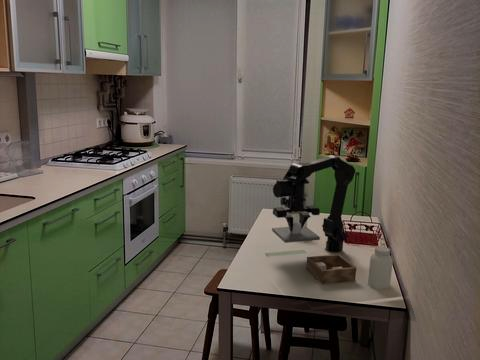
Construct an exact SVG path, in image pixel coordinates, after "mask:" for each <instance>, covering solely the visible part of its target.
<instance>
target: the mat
mask: <svg viewBox="0 0 480 360" xmlns="http://www.w3.org/2000/svg"><path fill="white" fill-rule="evenodd" d="M264 254H265V255H266V256H267V257H268V258H269V257H278V256H291V255H302V254H308V252H307V251H306V250H305V249H299V250H298V249H297V250H285V251H274V252H273V251H272V252H271V251H270V252H265V253H264Z"/></svg>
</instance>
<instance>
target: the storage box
mask: <svg viewBox="0 0 480 360" xmlns="http://www.w3.org/2000/svg"><path fill="white" fill-rule="evenodd" d="M317 262H323V263H324V264H325V265H326V270H323V269H321V268H320V267H319V266H318V265H317V264H316V263H317ZM332 267H342V268H340V269H332ZM305 269H306V271H307V272H308V273H309V274H310V275H311V276H312V277H313V278H314V279H315V280H316V281H318V283H319V284H320V285H327V284H328V285H329V284H338V283H347V282H348V283H349V282H356V278H357V277H356V275H357V267H356V266H355V265H353V264H352V263H351V262H350V261H348V260H347V259H346V258H345V257H343V256H342V255H341V254H339V253H335V254H328V255H327V254H326V255H316V256H313V255H312V256H306V266H305Z"/></svg>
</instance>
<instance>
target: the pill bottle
mask: <svg viewBox="0 0 480 360" xmlns="http://www.w3.org/2000/svg"><path fill="white" fill-rule="evenodd" d="M390 254H391V249H390V248H389V247H386V246H382V245H380V246H375V248H374V253H373V254H371V256H370V259H369V266H368V268H369V269H368V277H367V285H368V286H369V287H371V288H373V289H376V290H388V289H390V287H391V279H392V274H393V273H392V271H393V262H394V261H393V260H394V259H393V257H392V256H391V255H390Z"/></svg>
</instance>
